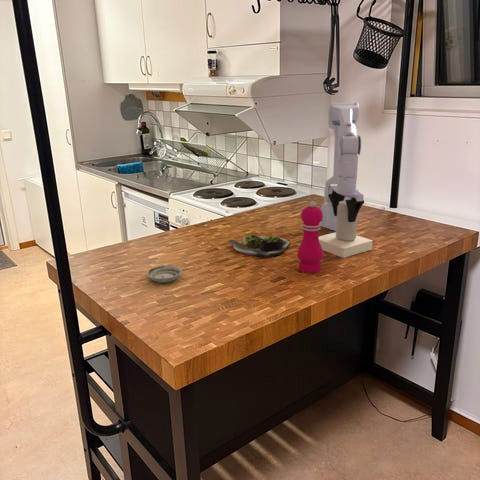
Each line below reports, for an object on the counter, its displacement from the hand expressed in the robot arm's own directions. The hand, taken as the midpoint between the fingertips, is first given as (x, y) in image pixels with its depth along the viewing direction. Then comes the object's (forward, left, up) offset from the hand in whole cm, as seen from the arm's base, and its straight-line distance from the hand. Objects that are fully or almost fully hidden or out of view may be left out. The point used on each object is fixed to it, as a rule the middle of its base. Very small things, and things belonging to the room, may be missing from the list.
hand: (344, 218), depth 149 cm
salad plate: (-15, -21, -10) cm, 28 cm away
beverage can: (0, +1, -7) cm, 7 cm away
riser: (0, 0, -10) cm, 10 cm away
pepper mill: (+7, -21, -10) cm, 24 cm away
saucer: (-11, -58, -10) cm, 60 cm away
